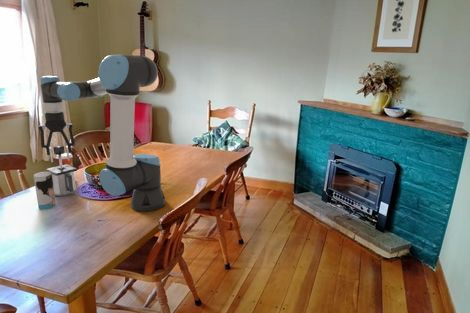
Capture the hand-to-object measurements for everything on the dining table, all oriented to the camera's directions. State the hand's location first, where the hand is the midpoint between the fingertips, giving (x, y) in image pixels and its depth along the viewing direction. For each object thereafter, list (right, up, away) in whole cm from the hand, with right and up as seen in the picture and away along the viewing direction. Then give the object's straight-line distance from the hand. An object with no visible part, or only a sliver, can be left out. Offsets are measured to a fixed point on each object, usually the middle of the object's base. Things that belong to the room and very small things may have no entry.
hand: (60, 160), depth 154 cm
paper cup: (-7, -11, +21) cm, 25 cm away
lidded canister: (+1, -16, +4) cm, 16 cm away
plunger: (0, -14, +4) cm, 14 cm away
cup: (0, -20, -10) cm, 23 cm away
